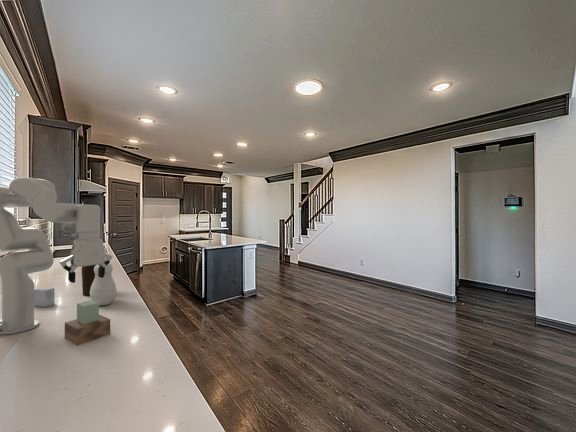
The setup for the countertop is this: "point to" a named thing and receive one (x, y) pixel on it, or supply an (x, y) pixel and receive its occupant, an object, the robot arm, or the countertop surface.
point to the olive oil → (87, 278)
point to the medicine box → (44, 297)
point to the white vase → (103, 286)
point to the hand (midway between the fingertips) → (87, 279)
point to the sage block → (87, 312)
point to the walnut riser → (86, 330)
